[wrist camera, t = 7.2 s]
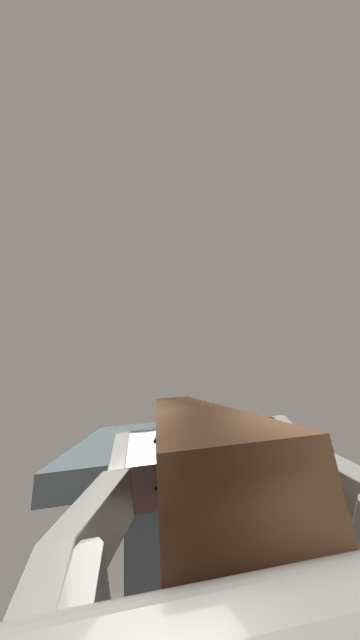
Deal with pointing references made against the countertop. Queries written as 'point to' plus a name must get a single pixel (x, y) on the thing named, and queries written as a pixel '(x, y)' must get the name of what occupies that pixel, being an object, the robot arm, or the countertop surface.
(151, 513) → the stand
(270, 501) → the block
